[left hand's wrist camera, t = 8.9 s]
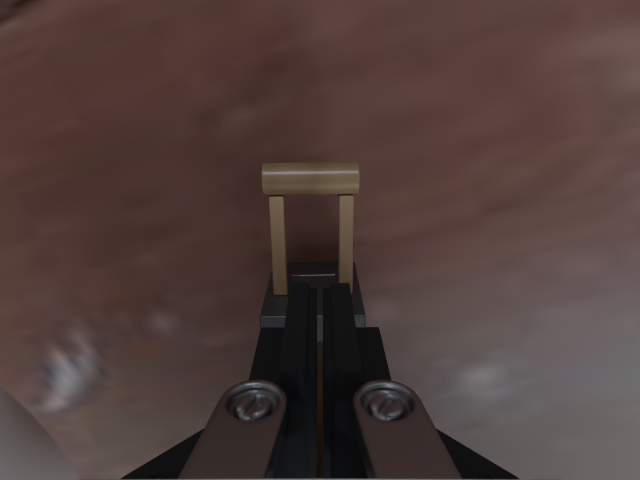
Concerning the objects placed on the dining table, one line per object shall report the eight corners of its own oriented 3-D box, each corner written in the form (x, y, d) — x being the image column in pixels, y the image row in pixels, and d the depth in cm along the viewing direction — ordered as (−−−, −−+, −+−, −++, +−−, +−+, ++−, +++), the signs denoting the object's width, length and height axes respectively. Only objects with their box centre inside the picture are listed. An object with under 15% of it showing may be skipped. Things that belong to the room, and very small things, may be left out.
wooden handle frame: (268, 151, 21) (250, 172, 15) (356, 150, 21) (368, 170, 15) (284, 482, 27) (276, 580, 22) (351, 482, 27) (359, 579, 22)
